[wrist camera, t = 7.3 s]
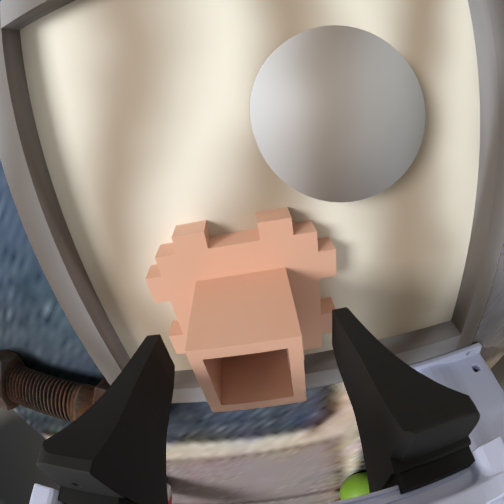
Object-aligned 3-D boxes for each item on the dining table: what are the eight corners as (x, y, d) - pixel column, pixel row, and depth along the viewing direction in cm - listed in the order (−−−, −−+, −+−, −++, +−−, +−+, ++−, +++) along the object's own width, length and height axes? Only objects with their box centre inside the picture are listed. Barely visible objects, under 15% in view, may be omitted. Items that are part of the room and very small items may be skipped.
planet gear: (327, 200, 14) (371, 266, 9) (331, 339, 18) (354, 415, 13) (139, 232, 14) (99, 307, 10) (188, 359, 19) (179, 437, 14)
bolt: (-13, 330, 21) (133, 369, 22) (-8, 380, 21) (133, 424, 22) (-53, 343, 15) (109, 401, 16) (-44, 400, 15) (113, 463, 16)
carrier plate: (467, -40, 8) (513, -53, 5) (457, 323, 20) (482, 361, 16) (5, 20, 9) (-46, 16, 5) (130, 378, 21) (118, 424, 17)
